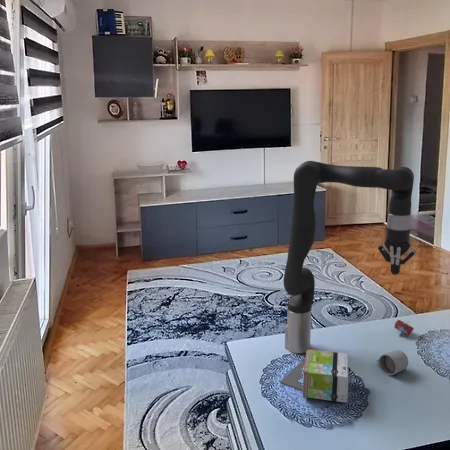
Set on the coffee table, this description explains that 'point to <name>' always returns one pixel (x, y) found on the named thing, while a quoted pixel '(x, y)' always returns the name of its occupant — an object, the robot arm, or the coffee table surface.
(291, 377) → the mat
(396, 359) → the ceramic mug
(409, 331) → the geometric puzzle
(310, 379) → the tea box
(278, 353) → the coffee table surface
